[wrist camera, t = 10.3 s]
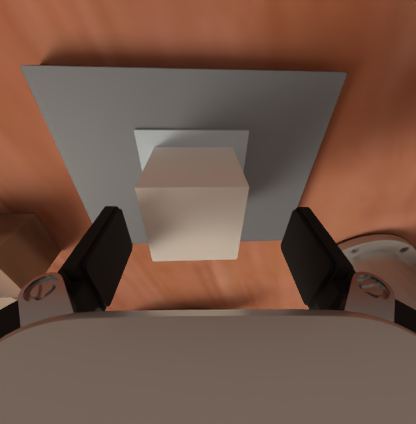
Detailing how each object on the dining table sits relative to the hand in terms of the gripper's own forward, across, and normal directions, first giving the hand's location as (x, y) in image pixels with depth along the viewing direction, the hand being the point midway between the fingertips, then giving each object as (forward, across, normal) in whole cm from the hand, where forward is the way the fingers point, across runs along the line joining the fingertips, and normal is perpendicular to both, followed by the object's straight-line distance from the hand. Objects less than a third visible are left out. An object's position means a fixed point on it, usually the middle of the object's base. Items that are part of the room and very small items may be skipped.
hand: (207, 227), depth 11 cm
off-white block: (+4, +1, -1) cm, 4 cm away
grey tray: (+6, +1, -1) cm, 6 cm away
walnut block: (+6, +18, +6) cm, 19 cm away
